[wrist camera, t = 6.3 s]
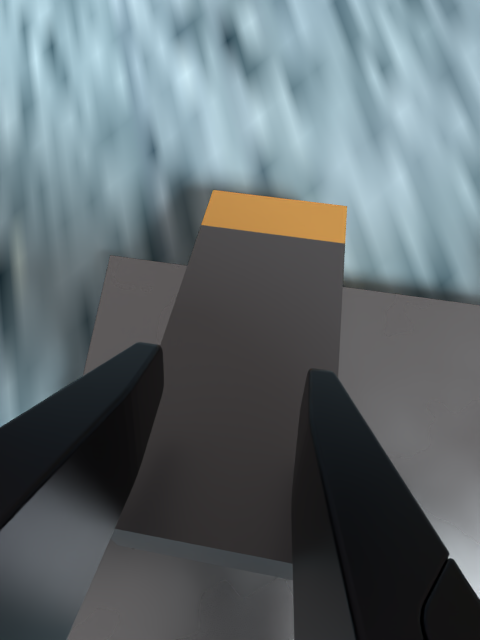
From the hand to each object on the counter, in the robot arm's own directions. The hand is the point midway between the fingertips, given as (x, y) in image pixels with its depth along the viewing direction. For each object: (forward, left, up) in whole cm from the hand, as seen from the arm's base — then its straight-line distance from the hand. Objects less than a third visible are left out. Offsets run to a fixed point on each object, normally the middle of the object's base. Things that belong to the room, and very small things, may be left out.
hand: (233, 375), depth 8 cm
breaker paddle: (-3, 0, -1) cm, 3 cm away
